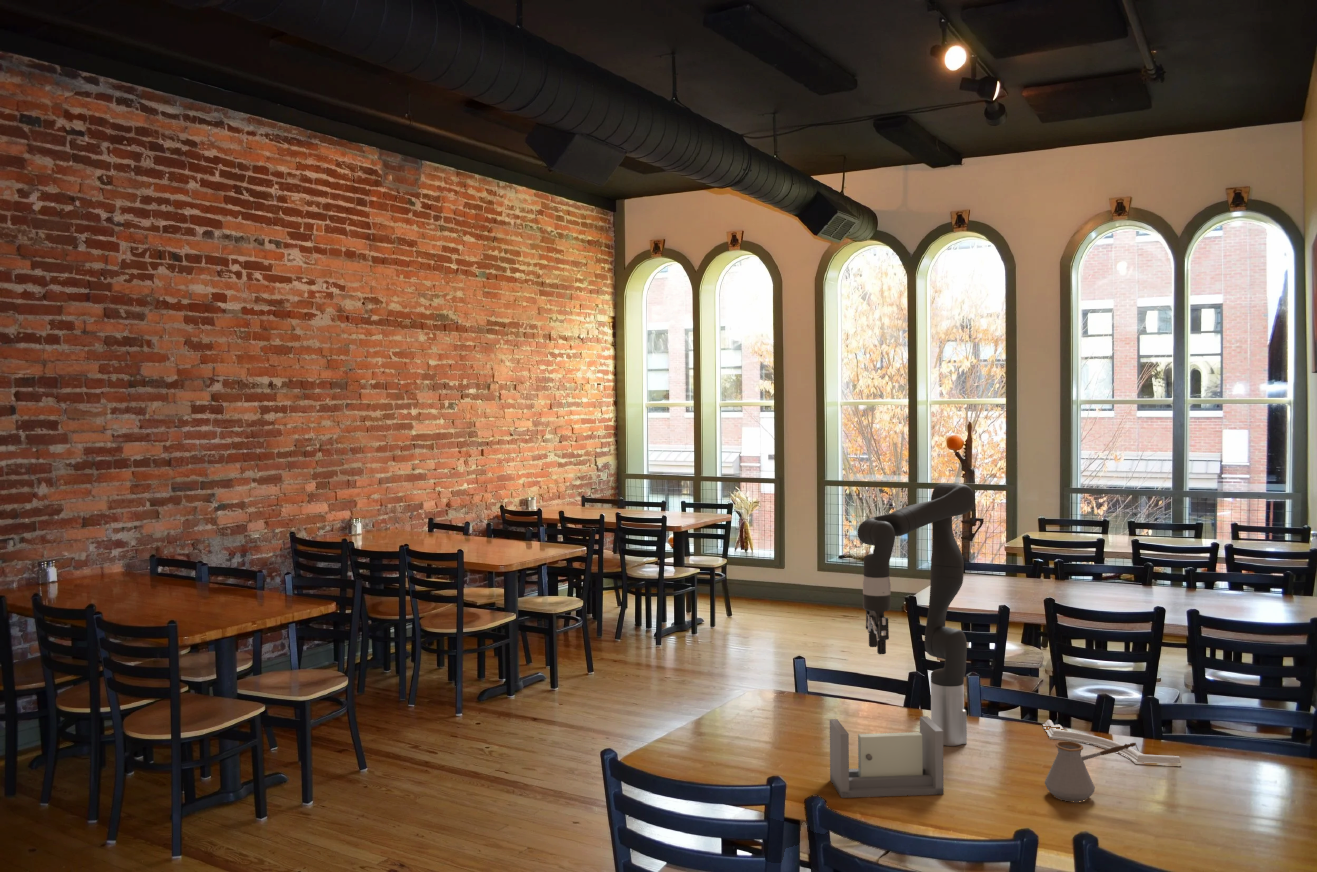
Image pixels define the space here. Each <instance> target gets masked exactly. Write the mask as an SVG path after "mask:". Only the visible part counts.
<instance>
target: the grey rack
mask: <svg viewBox="0 0 1317 872" xmlns="http://www.w3.org/2000/svg"><path fill="white" fill-rule="evenodd" d="M919 732H920V733H921V734H922V765H923V775H912V776H881V777H859V776H858V768H850V752H849V751H850V750H849V748H850V743H849V742H850V739H849V738H850V737H849V735H850V734H849V732H848V731H847V729H845V727H844V726H843V725H842V724H841V722H840V721H839V719H837V718H835V719H834V718H831V719H829V780H830V782H831V784H832V783H833V784H832V785H833V787H834V789H835V790H836V792H837V793H838V795H839V797H840V798H841V799H846V798H873V797H874V798H875V797H879V798H880V797H900V796H903V797H905V796H906V797H907V795H908V796H932V795H944V793H945V791H944V745H943V730H942V729H940V728H939V727H938V726H937V725H936V724H935V723H934V722H933V721H932V720H931V717H928V716H919Z"/></svg>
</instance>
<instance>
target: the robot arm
mask: <svg viewBox="0 0 1317 872" xmlns="http://www.w3.org/2000/svg"><path fill="white" fill-rule="evenodd" d="M975 499H976V497H975V493H974V490H973V489H972V488H971V487H970V486H968V485H967V484H963V483H956V482H955V483H953V482H940V483H938V484H936V485H935V486H934V487H933V490H932V493H931V499H930V500H929V501H923V502H920V503H919V502H918V503H914V504H910V505H906V506H904V507H902V508H899V509H897V510H894V511H893V512H890V513H886V514H883V515H878V516H874V517H873V516H872V517H870V518H867V519H865V520H864V521H863V522H861V523H860V525H859V526H858V528H857V538H858V540H859V541H860V542H861V543H863V544H864V545H868V546H874V547H873V552H872V553H870V554H866V555H865V556H864V557H863V580H862V607H863V609H864V610H865V630H867V633H868V647H870V648H876V650H877V652H876V653H877V654H878V655H886V653H887V642H886V641H888V640H890V639H889V638H890V635H889V631H890V629H889V618H888V617H886V616H885V612H887V611H889V610H891V607H892V606H891V605H892V603H891V602H892V600H891V589H892V588H891V579H890V578H891V577H890V561H891V557H892V553H893V549H894V545H895V541H896V537H901V536H904V535H906V534H909V533H911V532H913V531H915V530H917V529H920V528H922V527H924V526H927V525H929V524H931V529H932V531H931V536H932V537H931V538H932V539H931V540H932V541H931V559H930V560H931V561H930V582H929V583H930V585H929V586H930V587H929V600H928V601H929V602H928V610H927V616H926V617H927V618H926V624H925V625H926V626H925V631H924V649H925V651H926V653H927V654H928V655H929V656H930V657H934V658H937V659H942V660H944V666H943V668H938V669H934V670H932V671H931V673H930V719H931V720H932V721H933V722H934V723H935V724H936V725H937V726H938V727H939V728H940V729H942V730H943V746H949V747H950V746H951V747H955V746H961V745H964V744H965V745H966V744H967V742H968V738H967V737H968V736H967V735H968V733H967V731H968V728H967V723H968V722H967V721H968V720H967V718H968V717H967V710H966V708H965V695H964V694H965V693H964V692H965V690H964V689H965V688H964V687H965V686H964V685H965V680H964V679H965V675H966V671H967V653H968V641H967V637H966V634H965V632H963V630H960V629H958V628H952V627H948V626H946V621H947V620H946V619H947V617H946V616H947V614H948V613H947V612H948V610H949V607H950V605H951V604H952V602H953V601H954V600H955V599H954V598H956V596H957V595H958V593H959V591H960V590H961V588H962V585H963V582H964V581H963V580H964V570H965V568H964V565H965V564H964V557H963V554H962V552H961V549H960V547H959V544H958V543H957V540H956V537H955V535H954V531H953V517H956V516H963V515H966V514H968V513H969V512H970V511H971V510H972V509H973V508H974V505H975Z"/></svg>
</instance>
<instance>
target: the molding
mask: <svg viewBox="0 0 1317 872" xmlns="http://www.w3.org/2000/svg"><path fill="white" fill-rule="evenodd" d="M1042 725H1043V726H1051V727H1060V729H1056V728H1050V729H1049V727H1048V729H1049V730H1044V729H1046V727H1042V728H1043V730H1044V732H1045V731H1046V732H1047V734H1046V735H1047V737H1048V736H1049V737H1048V738H1049V740H1058V741H1059V740H1060V741H1069V742H1075V743H1079V742H1081V743H1080V744H1084V743H1089V744H1093V745H1095V746H1094V747H1097V746H1098V748H1101V749H1104V750H1107V749H1110V748H1113V747H1116V746H1123V745H1124V744H1122V743H1119V742H1117V741H1114V740H1111V739H1107V738H1104V737H1101V736H1097V735H1092V734H1087V733H1083V732H1082V733H1081V732H1075V731H1070V730H1069V731H1068V730H1065V729H1064V727H1063V726H1062V725H1061V724H1054V722H1053V721H1052V720H1051V719H1047V720H1046V721H1045V722H1044V723H1043V724H1042ZM1042 725H1041V726H1042ZM1061 729H1064V730H1061ZM1046 732H1045V733H1046ZM1082 742H1083V743H1082ZM1089 744H1088V745H1089ZM1093 745H1092V746H1093ZM1118 753H1120V754H1123V755H1125V756H1127V757H1128V758H1130V759H1131V760H1133V761H1136V762H1144V763H1181V762H1182V761H1181V758H1180V756H1179V755H1176V756H1175V755H1159V754H1158V755H1157V754H1144V753H1142V752H1140V751H1138V750H1137V749H1136V750H1135V749H1134V748H1132V747H1129V748H1128V749H1126V748H1125V749H1123V750H1121V751H1118ZM1120 754H1119V755H1120ZM1181 764H1182V763H1181Z"/></svg>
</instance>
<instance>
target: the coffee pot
mask: <svg viewBox="0 0 1317 872" xmlns="http://www.w3.org/2000/svg"><path fill="white" fill-rule="evenodd" d="M1122 745H1123V746H1116V747H1113V748H1110V749H1104V750H1101V751H1099V752H1095V753H1091V754H1087V755H1083V756H1082V755H1081V753H1082V751H1083V750H1084V746H1083V745H1082V743H1079V742H1073V741H1066V740H1060V741H1058V742H1057V741H1056V742H1055V748H1057V751H1058V752H1057V754H1056V756H1055V759H1054V761H1053V763H1052V765H1051V767H1050V770H1049V771H1048V773H1047V776H1046V777H1045V780H1044V784H1045V787H1046V789H1047V791H1049V793H1050V794H1051V795H1052V796H1053V795H1054V796H1055V797H1056V798H1055V797H1054V796H1053V797H1054V798H1055V799H1057V798H1058V799H1057V800H1059V799H1061V800H1060V801H1062V800H1065V801H1064V802H1066V801H1074V802H1073V803H1080V802H1079V801H1083V800H1085V799H1086V800H1087V799H1089V798H1090V797H1091V796H1093V795H1094V792H1095V788H1096V787H1095V785H1094V783H1093V780H1092V778H1091V775H1090V773H1089V771H1088V768H1087V767H1086V765H1085V764H1086V763H1085V762H1084V761H1087V760H1090V759H1093V758H1096V757H1100V756H1104V755H1109V754H1113V753H1115V752H1118V751H1121V750H1123V749H1125V748H1126V749H1128V748H1133V747H1136V751H1138V752H1140V751H1139V748H1138V746H1137V743H1136V742H1131V743H1129V744H1128V743H1125V744H1122ZM1086 800H1085V801H1086ZM1083 802H1084V801H1083Z"/></svg>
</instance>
